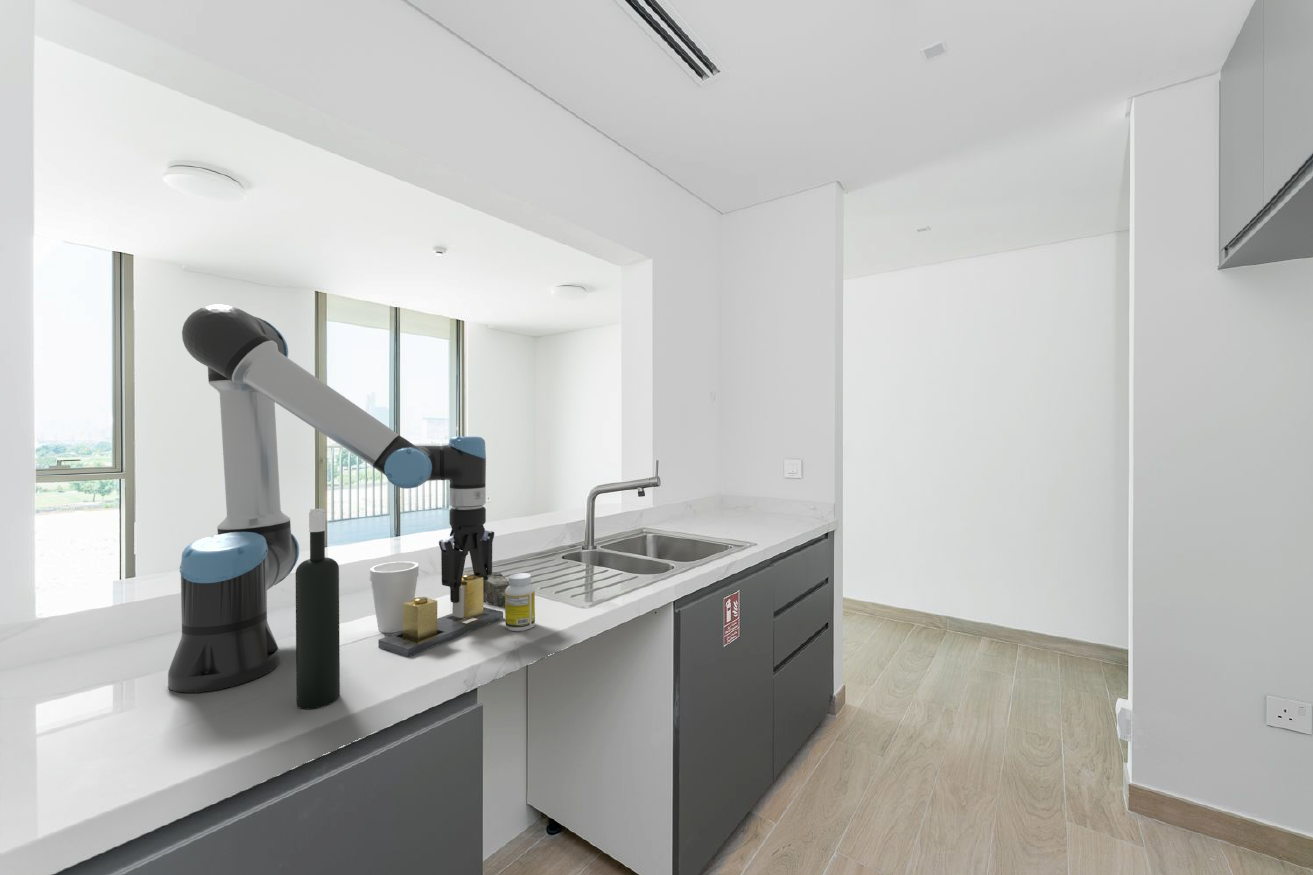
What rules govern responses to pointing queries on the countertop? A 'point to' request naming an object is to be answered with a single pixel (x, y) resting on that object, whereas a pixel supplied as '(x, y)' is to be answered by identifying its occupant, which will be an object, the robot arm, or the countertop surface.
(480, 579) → the brass knobbed block
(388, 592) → the foam cup
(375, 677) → the countertop surface
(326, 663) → the wine bottle
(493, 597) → the stone
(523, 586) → the pill bottle
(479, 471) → the robot arm
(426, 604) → the brass block with knob
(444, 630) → the dark grey slotted tray
